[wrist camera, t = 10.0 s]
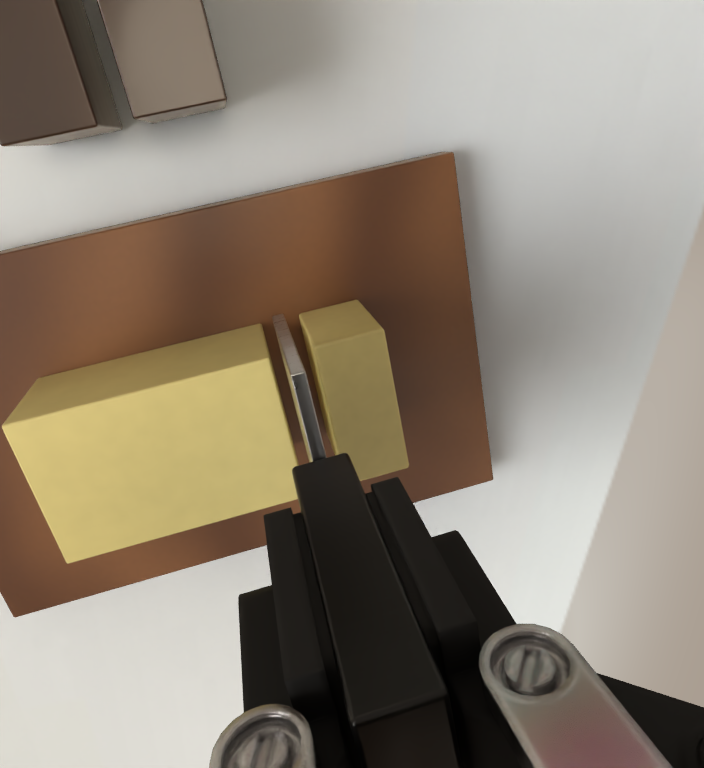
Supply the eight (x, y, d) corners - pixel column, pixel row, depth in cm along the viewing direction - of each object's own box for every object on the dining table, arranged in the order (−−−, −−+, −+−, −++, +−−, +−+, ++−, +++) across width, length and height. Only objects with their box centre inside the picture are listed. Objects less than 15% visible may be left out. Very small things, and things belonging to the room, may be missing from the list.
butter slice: (358, 298, 20) (384, 328, 17) (382, 420, 22) (410, 468, 18) (298, 313, 20) (313, 346, 17) (327, 435, 21) (346, 486, 18)
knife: (300, 309, 16) (426, 563, 6) (353, 530, 18) (493, 932, 9) (253, 320, 15) (312, 597, 6) (314, 541, 18) (417, 961, 9)
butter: (261, 322, 20) (269, 357, 16) (293, 444, 21) (306, 497, 18) (36, 377, 19) (-1, 426, 16) (90, 499, 21) (66, 565, 17)
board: (443, 151, 20) (454, 151, 19) (483, 467, 24) (493, 480, 24) (-146, 283, 18) (-166, 291, 17) (22, 599, 23) (13, 618, 22)
